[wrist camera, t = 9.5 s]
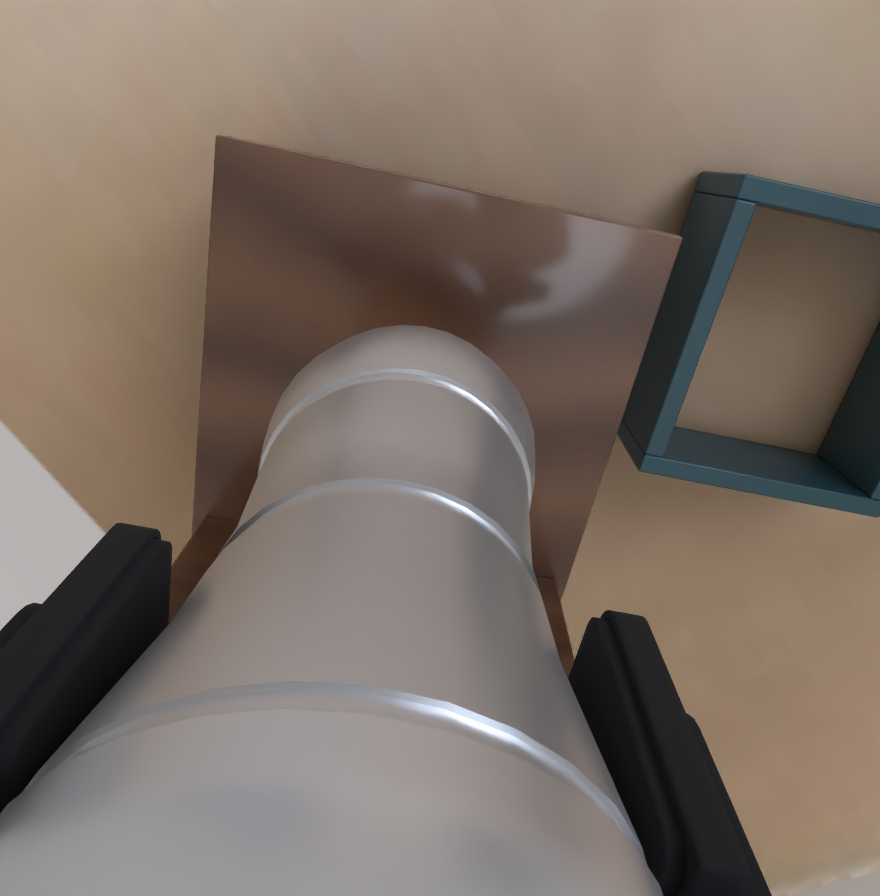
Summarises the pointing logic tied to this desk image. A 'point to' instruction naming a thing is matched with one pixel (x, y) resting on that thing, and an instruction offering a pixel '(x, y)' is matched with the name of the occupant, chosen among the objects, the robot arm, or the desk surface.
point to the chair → (416, 322)
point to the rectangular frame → (684, 335)
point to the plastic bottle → (349, 675)
